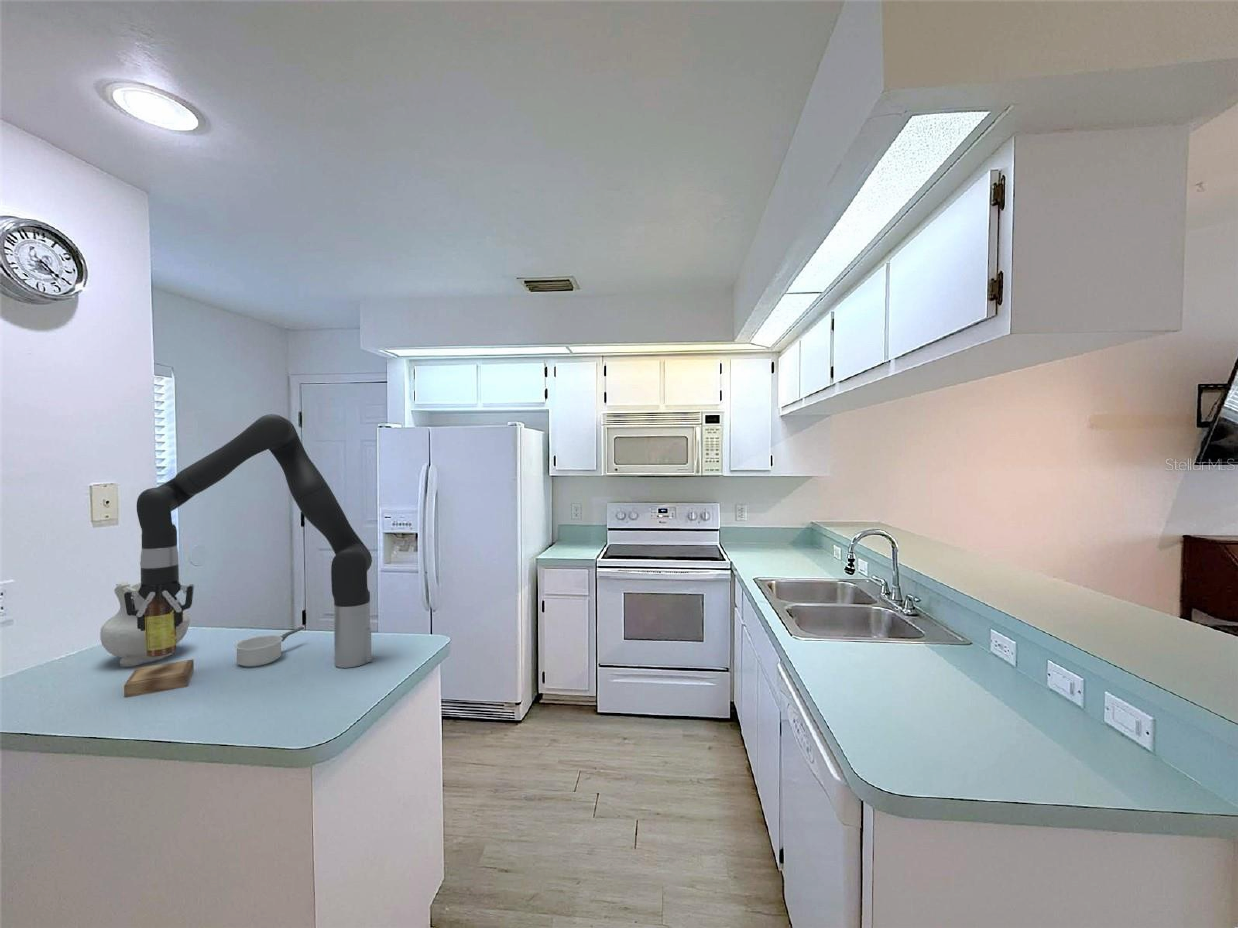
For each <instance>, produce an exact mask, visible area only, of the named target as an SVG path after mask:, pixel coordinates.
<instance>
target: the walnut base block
mask: <svg viewBox="0 0 1238 928" xmlns="http://www.w3.org/2000/svg"><path fill="white" fill-rule="evenodd" d="M193 672H194V658H193V659H186V660H181V661H180V660H179V661H174V662H167V663H160V664H154V665H149V666H142V667H136V668H135V669H134V670H133V672H132V673H131V675H130V676H129V677H128V679H127V681H126V682H125V684H123V685H124V686H123V688H124V691H123V693H124V696H123V697H124V698H128V697H134V696H141V695H147V694H151V693H157V692H162V691H163V692H164V691H168V690H174V689H179V688H186V687H188V684H189V682H190V680H191V676H192V675H193Z"/></svg>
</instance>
